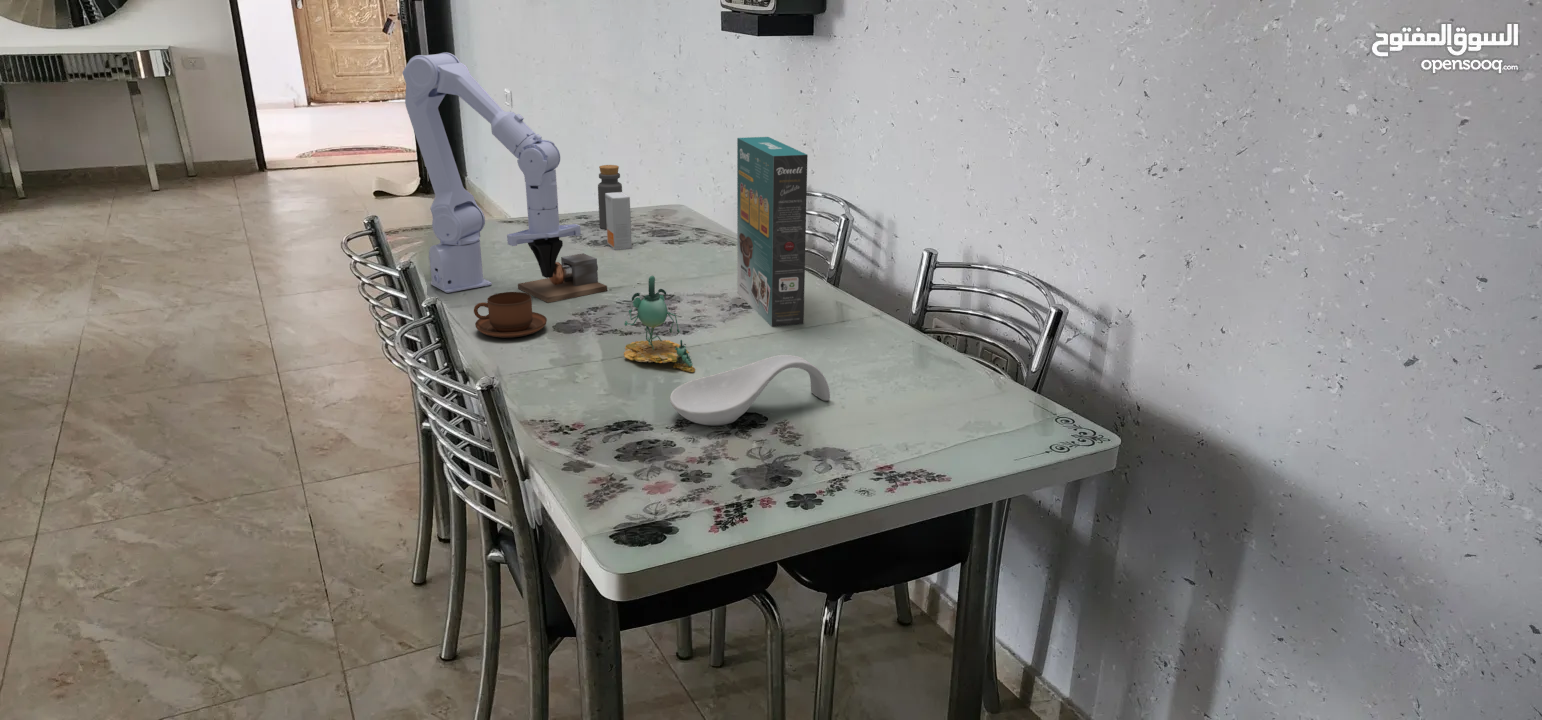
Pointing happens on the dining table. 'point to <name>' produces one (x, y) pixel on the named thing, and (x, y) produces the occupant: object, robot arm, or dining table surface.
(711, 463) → the dining table surface
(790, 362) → the spoon rest
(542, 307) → the dining table surface
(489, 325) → the cup and saucer
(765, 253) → the cake mix box
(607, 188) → the bottle
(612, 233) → the skincare box
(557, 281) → the shaft
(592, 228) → the dining table surface
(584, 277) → the stand
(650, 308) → the teal creature figurine
